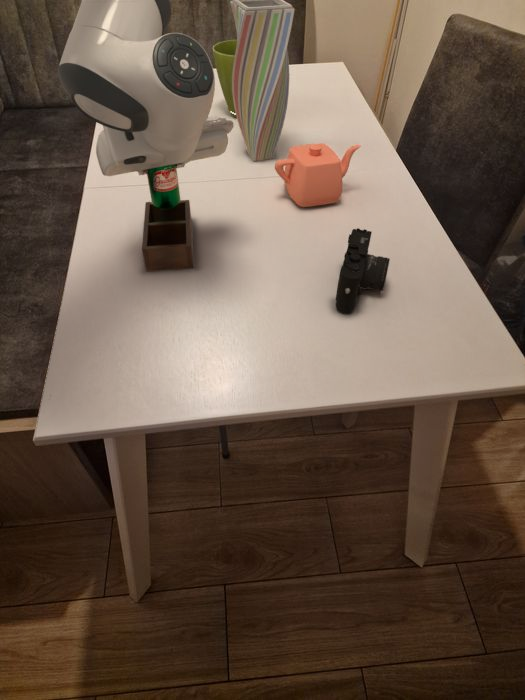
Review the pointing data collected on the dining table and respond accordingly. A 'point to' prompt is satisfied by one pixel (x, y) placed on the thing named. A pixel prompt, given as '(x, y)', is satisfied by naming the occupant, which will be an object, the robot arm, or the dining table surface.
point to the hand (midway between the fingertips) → (160, 167)
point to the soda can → (164, 187)
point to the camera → (359, 271)
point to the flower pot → (225, 69)
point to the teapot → (314, 173)
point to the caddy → (167, 237)
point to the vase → (261, 72)
